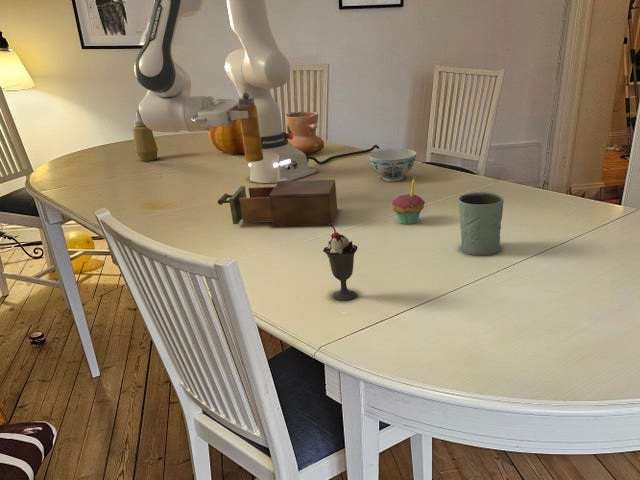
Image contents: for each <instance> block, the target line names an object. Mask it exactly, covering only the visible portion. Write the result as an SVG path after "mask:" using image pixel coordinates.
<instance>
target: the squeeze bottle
mask: <svg viewBox="0 0 640 480" xmlns="http://www.w3.org/2000/svg"><path fill="white" fill-rule="evenodd" d="M135 116H136V118H135V119H134V120H133V124H134V126H133V128H132V134H133V139H134V141H133V142H134V149H135V153H136V155H137V156H138V157H139V159H140V161H141V162H151V161H155V160H157V159H158V150H159V149H158V145H157V143H156V140H155V136H154V133H153V131H152V130H150V129H149V128H147V127H146V126H145V125H144V123H143V121H142V120H141V117H140V114H139V109H136V110H135Z"/></svg>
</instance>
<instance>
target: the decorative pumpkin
mask: <svg viewBox="0 0 640 480" xmlns="http://www.w3.org/2000/svg"><path fill="white" fill-rule="evenodd" d="M207 136H208V139H209V142H210V143H211V145H212V147H214V148H215V149H216V150H217V151H219V152H223V153H224V154H225V153H226V154H229V155H236V154H245V151H244V144H243V137H242V130H241V123H240V119H237V120H233V121H232V122H230V123H229V124H228V125H226V126H222V127H211V129H210V131H207Z"/></svg>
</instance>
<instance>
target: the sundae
mask: <svg viewBox="0 0 640 480" xmlns="http://www.w3.org/2000/svg"><path fill="white" fill-rule="evenodd" d="M329 225H330V226H329V227H331V228H332V229H333V233H331V235H330V237H331V239H330V240H329V241H328V242H327V246H325V247H324V248H323V250H322V251H323V253H325V255H327V258H328V261H329V265H330V270H331V273H332V275H333V277H334V278H335V279H336V280H337V281H338V280H339V282H340V290H337V291H335V292H334V293H333V294H332V296H331V297H332V299H334V300H335V301H339V302H346V301H351V300H354V299H356V297H357V292H356V291H354V290H351V289H348V286H347V280H349V279H350V277H351V276H353V272H354V261H355V254H356V253H357V251H358V245H356V244H353V241H352V240H350V241H349V239H348V238H347V237H346V236H345V235H343V234H340V233H339V232H337V231H336V229H335V227H334V226H333V223H332V224H331V223H329Z"/></svg>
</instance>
